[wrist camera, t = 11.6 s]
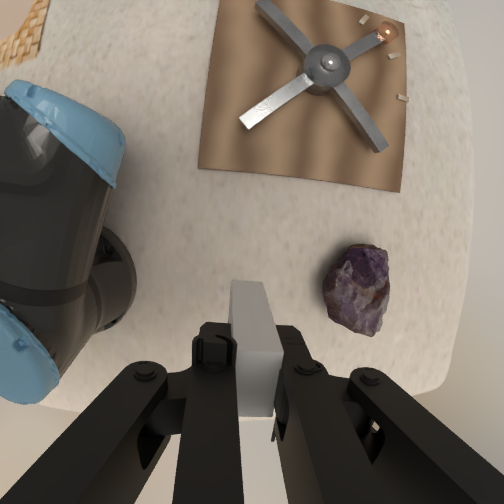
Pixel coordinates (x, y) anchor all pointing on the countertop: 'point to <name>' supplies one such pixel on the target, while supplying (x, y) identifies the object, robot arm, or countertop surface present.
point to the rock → (358, 289)
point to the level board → (303, 97)
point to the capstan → (321, 73)
